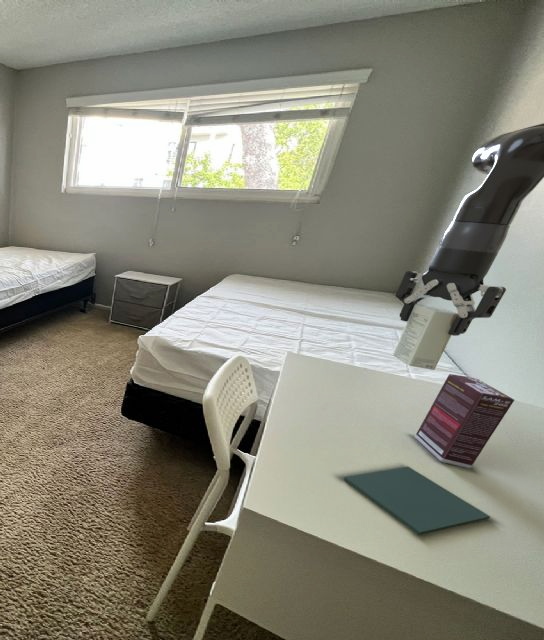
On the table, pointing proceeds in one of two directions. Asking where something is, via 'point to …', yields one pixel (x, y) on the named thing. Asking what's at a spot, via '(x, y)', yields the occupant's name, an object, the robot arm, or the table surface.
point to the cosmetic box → (425, 336)
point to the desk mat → (415, 500)
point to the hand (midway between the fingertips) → (428, 327)
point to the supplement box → (462, 420)
